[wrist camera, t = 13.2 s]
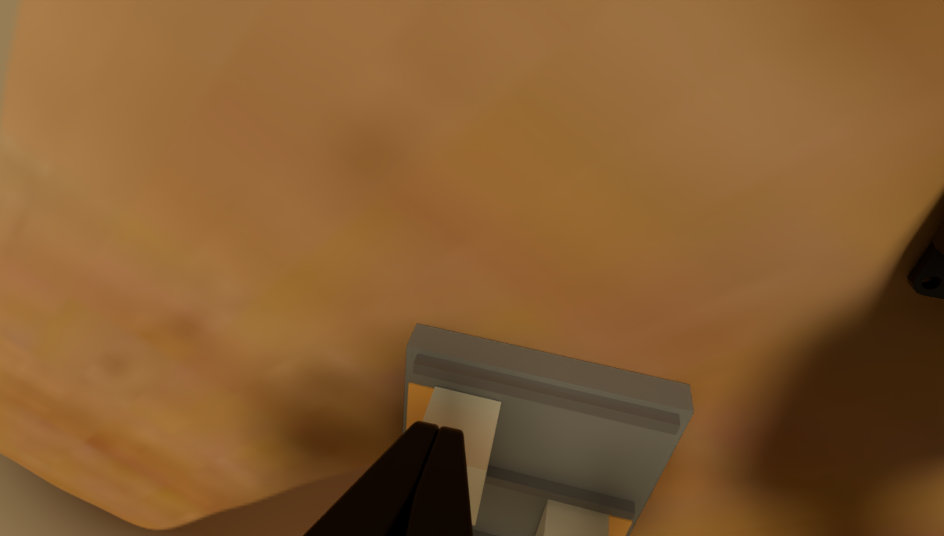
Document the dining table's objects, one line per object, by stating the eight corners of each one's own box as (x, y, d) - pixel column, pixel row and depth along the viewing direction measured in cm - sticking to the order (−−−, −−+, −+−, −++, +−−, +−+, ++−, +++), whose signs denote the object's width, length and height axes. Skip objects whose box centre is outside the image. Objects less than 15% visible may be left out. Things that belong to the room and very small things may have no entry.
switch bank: (689, 384, 23) (696, 423, 21) (583, 598, 34) (581, 634, 33) (416, 323, 24) (402, 355, 22) (403, 549, 36) (392, 581, 34)
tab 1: (501, 401, 24) (486, 470, 21) (489, 457, 26) (475, 525, 23) (434, 386, 24) (411, 451, 21) (429, 442, 26) (407, 508, 23)
